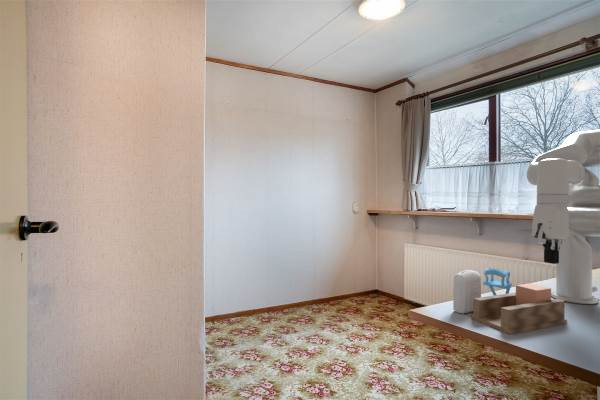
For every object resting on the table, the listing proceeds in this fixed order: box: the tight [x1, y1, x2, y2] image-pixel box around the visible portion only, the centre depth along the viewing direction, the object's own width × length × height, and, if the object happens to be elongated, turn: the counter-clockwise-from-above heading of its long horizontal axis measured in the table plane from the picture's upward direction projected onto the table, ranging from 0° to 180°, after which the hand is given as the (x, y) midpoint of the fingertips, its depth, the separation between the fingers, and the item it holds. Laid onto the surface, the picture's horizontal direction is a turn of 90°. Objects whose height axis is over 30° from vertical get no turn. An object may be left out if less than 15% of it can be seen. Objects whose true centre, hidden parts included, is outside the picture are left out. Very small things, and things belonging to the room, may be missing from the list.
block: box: [515, 283, 552, 305], centre depth 96 cm, size 6×6×8 cm
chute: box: [470, 292, 568, 335], centre depth 94 cm, size 22×12×6 cm, turn 111°
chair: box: [482, 267, 513, 296], centre depth 109 cm, size 8×8×12 cm
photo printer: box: [452, 269, 482, 314], centre depth 103 cm, size 10×4×12 cm, turn 123°
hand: (551, 262), depth 99 cm, fingers closed
